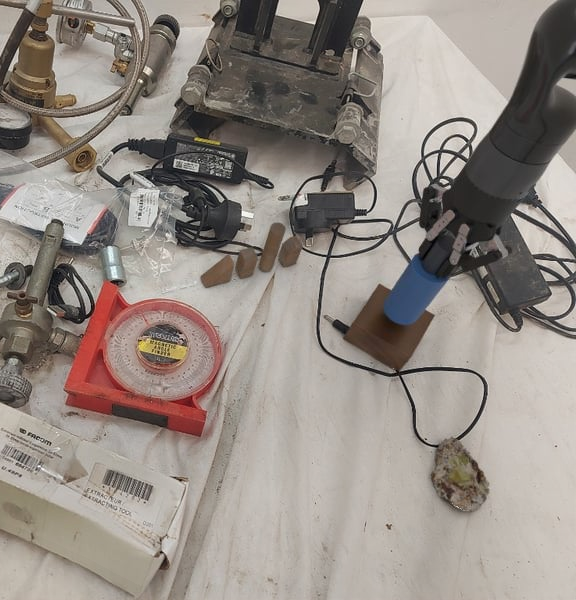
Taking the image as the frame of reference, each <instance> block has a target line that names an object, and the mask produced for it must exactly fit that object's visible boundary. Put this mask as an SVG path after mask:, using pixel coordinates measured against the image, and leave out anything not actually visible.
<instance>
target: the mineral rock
mask: <svg viewBox="0 0 576 600" xmlns="http://www.w3.org/2000/svg"><path fill="white" fill-rule="evenodd" d="M473 458H474V457H472V455H471V452H470V451H468V450H467V448H466V447H465V445H463V443H462V442H461V440H458V439H457V438H456V437H452V436H451V437H449V438H445V439H443V441H442V442H440V443H439V444H438V447H437V449H436V451H435V459H434V461H435V470H434V471H431V473H430V475H431V480H432V483H433V488H435V490H436V492H437V495H438V496H439V497H440V498H441V499H444V500H448V501H449V500H450V502H449V504H451V503H453V505H455V506H458V507H459V508H461V509H462V510H465V512H470V513H472V512H475V511H478V510H480V508H481V507H482V505H483V504H484V503H485V502H486V501H487V499H488V497H487V496H488V495H490V491H491V490H490V488H489V486H490V481H488V480H487V477H486V475H485V472H484V471H483V470H482V469H481V468H480V467H479V463H478V462H477V460H476V459H475V458H474V459H475V460H474V459H473ZM453 505H452V506H453ZM467 510H469V511H467Z"/></svg>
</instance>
